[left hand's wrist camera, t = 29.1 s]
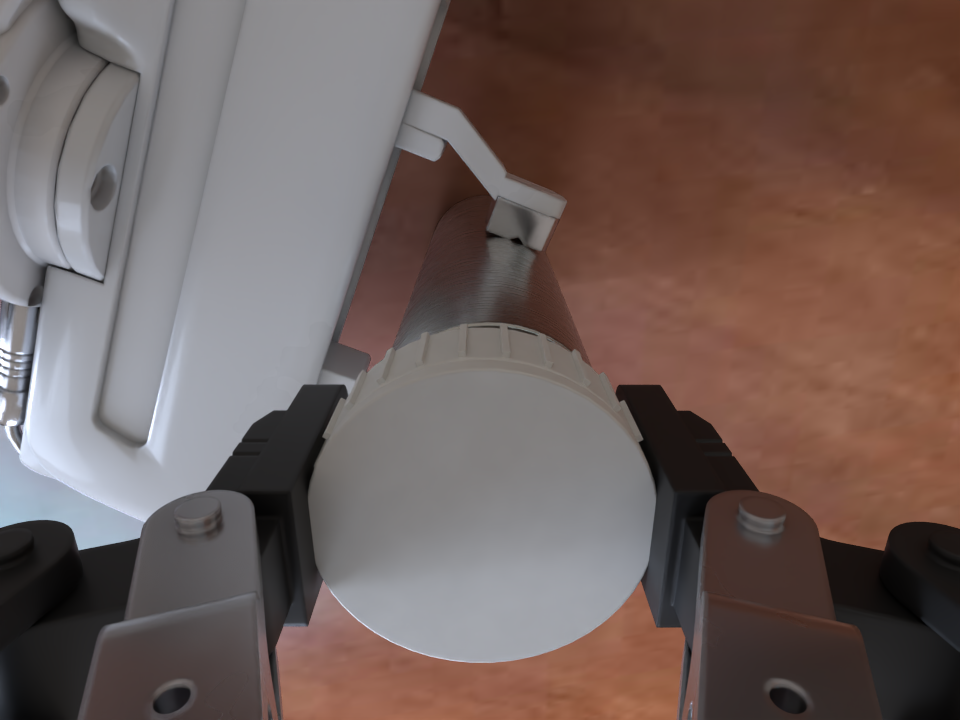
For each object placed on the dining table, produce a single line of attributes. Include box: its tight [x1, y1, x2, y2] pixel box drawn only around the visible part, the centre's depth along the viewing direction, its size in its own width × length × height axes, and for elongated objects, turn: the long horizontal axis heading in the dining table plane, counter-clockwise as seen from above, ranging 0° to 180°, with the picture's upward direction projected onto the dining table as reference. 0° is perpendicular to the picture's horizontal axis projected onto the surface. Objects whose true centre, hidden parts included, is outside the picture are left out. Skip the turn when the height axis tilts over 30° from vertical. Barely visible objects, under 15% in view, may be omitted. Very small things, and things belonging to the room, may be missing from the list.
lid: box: [308, 324, 657, 663], centre depth 10 cm, size 5×5×2 cm
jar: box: [393, 195, 592, 368], centre depth 17 cm, size 4×4×16 cm
